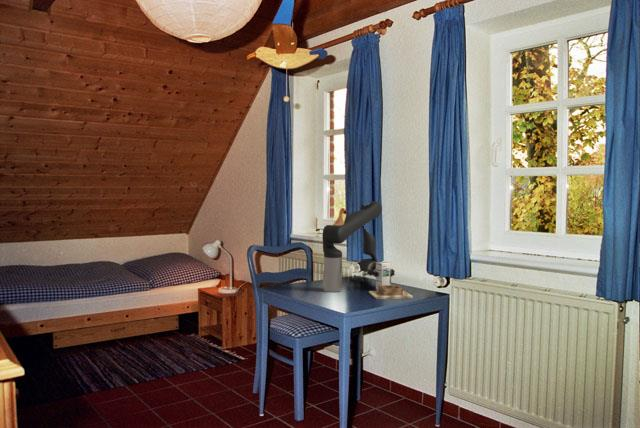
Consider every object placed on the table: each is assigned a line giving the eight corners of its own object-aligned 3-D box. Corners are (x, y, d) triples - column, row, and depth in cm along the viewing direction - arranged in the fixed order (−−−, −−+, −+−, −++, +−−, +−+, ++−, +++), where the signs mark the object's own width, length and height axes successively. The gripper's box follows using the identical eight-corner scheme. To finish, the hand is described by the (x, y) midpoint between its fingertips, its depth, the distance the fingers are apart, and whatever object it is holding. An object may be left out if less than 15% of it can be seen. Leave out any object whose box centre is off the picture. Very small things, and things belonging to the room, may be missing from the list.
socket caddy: (376, 298, 257) (376, 290, 257) (368, 293, 271) (369, 284, 270) (412, 298, 260) (412, 289, 259) (403, 292, 273) (403, 284, 273)
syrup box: (381, 291, 274) (382, 263, 273) (375, 289, 279) (375, 261, 278) (391, 291, 277) (391, 262, 276) (384, 288, 282) (385, 261, 281)
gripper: (363, 262, 290) (371, 267, 274) (389, 262, 292) (398, 267, 276) (363, 276, 291) (370, 282, 274) (389, 276, 293) (398, 281, 277)
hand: (384, 274), depth 275 cm, fingers closed on syrup box, 7 cm apart
